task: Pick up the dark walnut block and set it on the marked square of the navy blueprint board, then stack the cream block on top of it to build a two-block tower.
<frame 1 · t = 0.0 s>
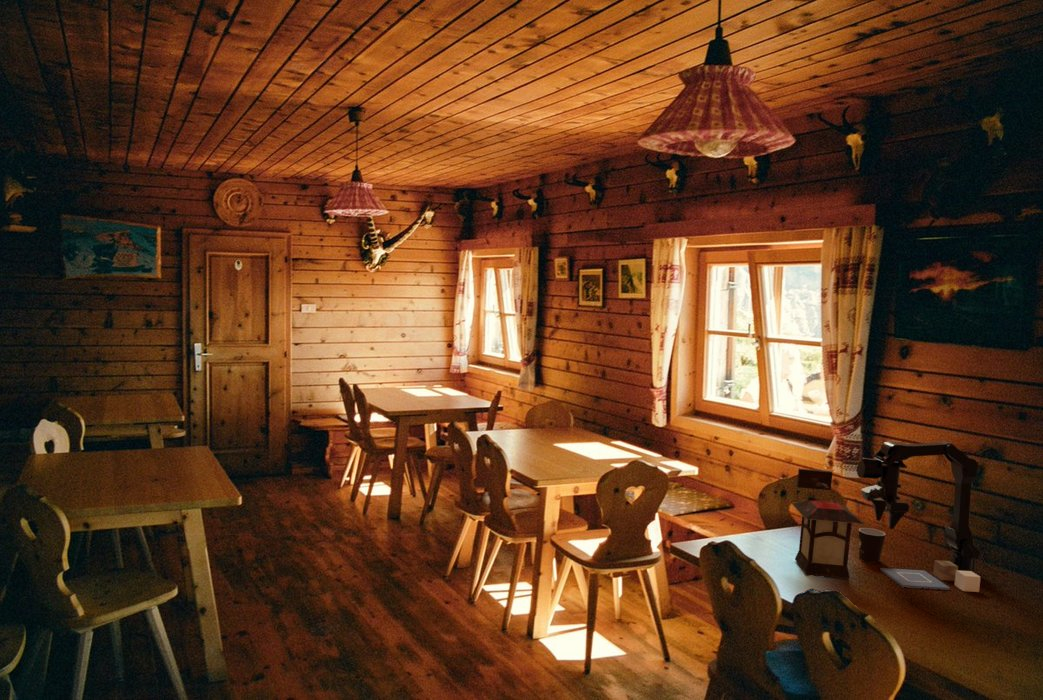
hand: (884, 524, 265), 15 cm above the table, tool pointing down, fingers open, 9 cm apart
walnut block: (944, 577, 260), on the table
blueprint board: (913, 579, 255), on the table
lantern: (817, 566, 263), on the table
coffee mug: (870, 559, 274), on the table
cream block: (966, 588, 251), on the table
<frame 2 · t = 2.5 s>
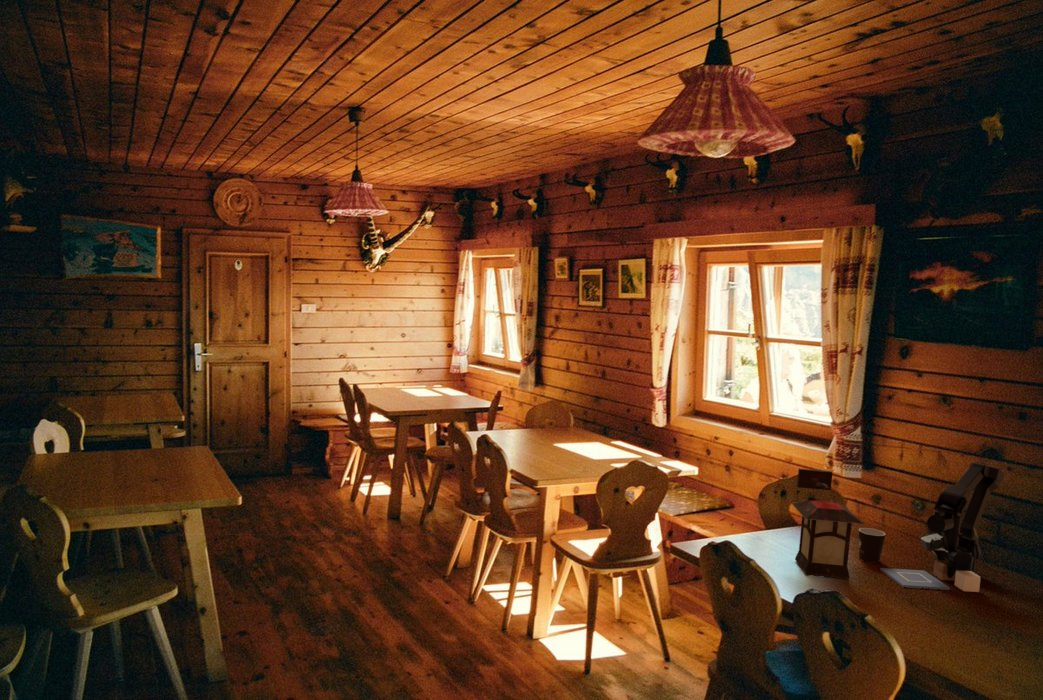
hand: (945, 574, 260), 1 cm above the table, tool pointing down, fingers closed on walnut block, 5 cm apart
walnut block: (944, 577, 260), on the table, touching gripper
everything else where it was.
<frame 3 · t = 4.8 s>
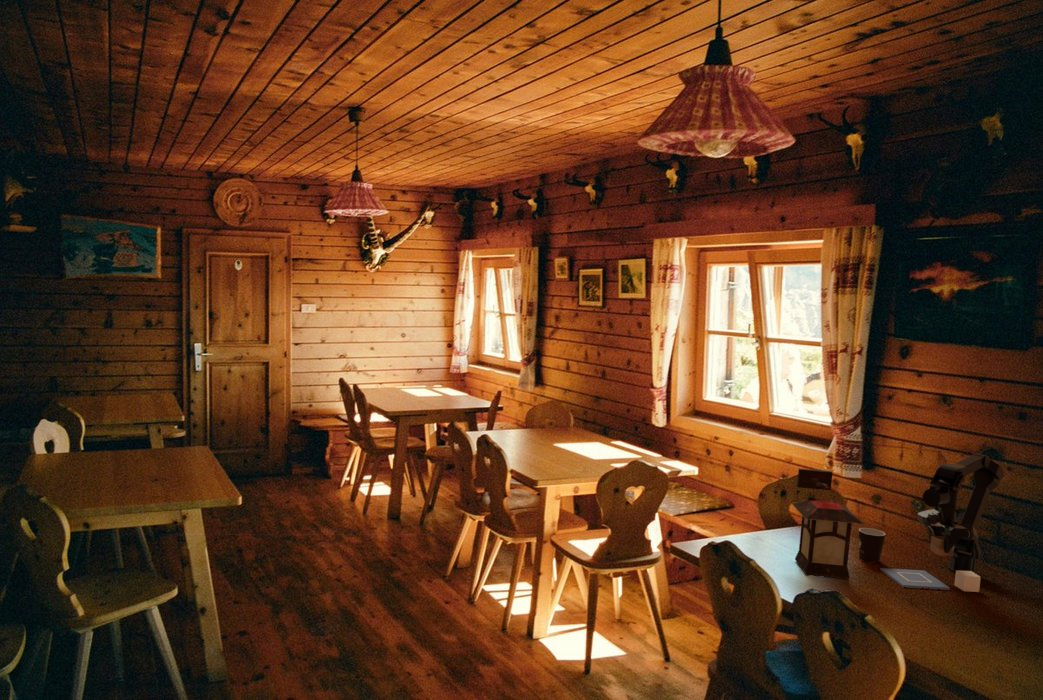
hand: (941, 550, 258), 9 cm above the table, tool pointing down, fingers closed on walnut block, 5 cm apart
walnut block: (941, 553, 258), point 8 cm above the table, touching gripper
everything else where it was.
when the fingers open (3 cm above the table, at t = 6.9 s): walnut block drops 1 cm, resting on blueprint board.
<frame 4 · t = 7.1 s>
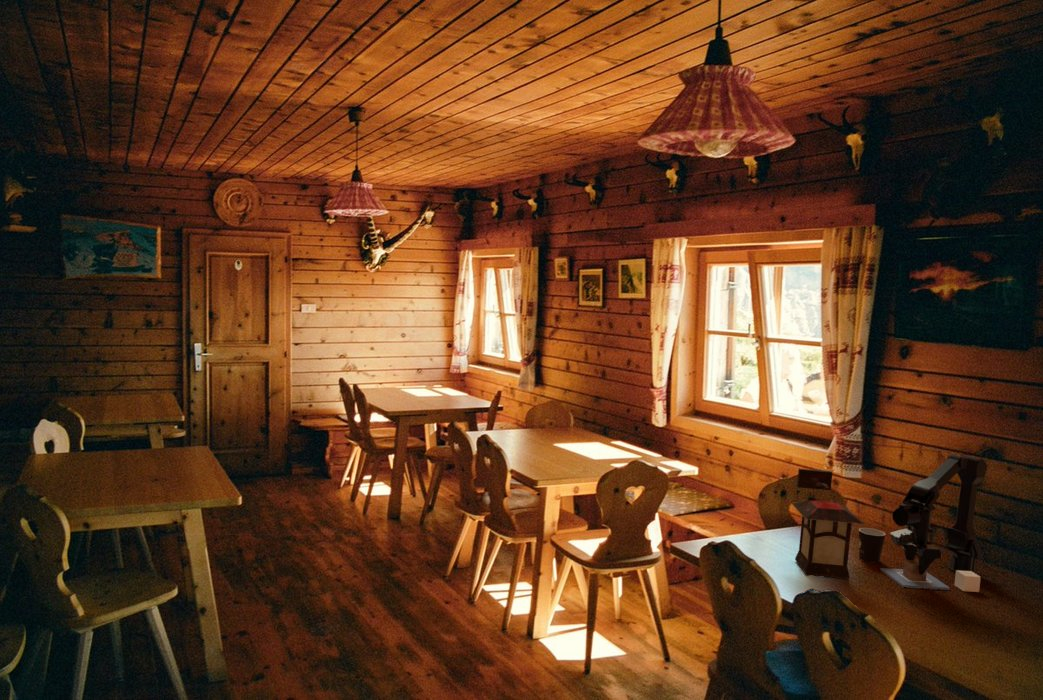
hand: (915, 570, 255), 3 cm above the table, tool pointing down, fingers open, 7 cm apart
walnut block: (914, 577, 255), point 1 cm above the table, touching blueprint board
everything else where it was.
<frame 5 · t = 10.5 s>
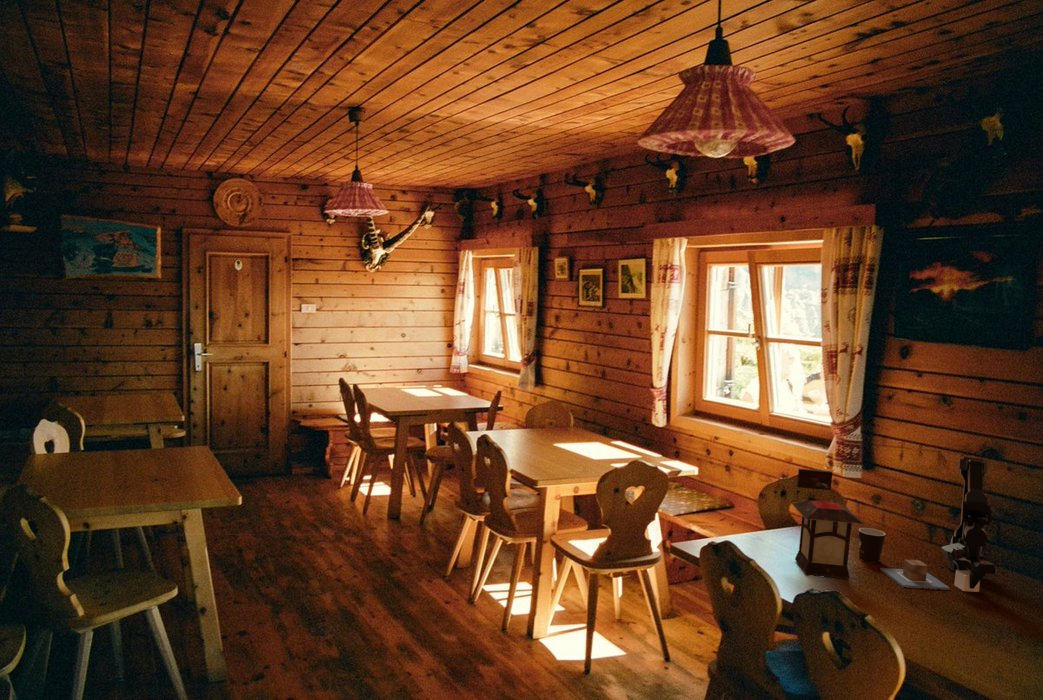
hand: (966, 585, 251), 1 cm above the table, tool pointing down, fingers closed on cream block, 5 cm apart
cream block: (966, 588, 251), on the table, touching gripper
everything else where it was.
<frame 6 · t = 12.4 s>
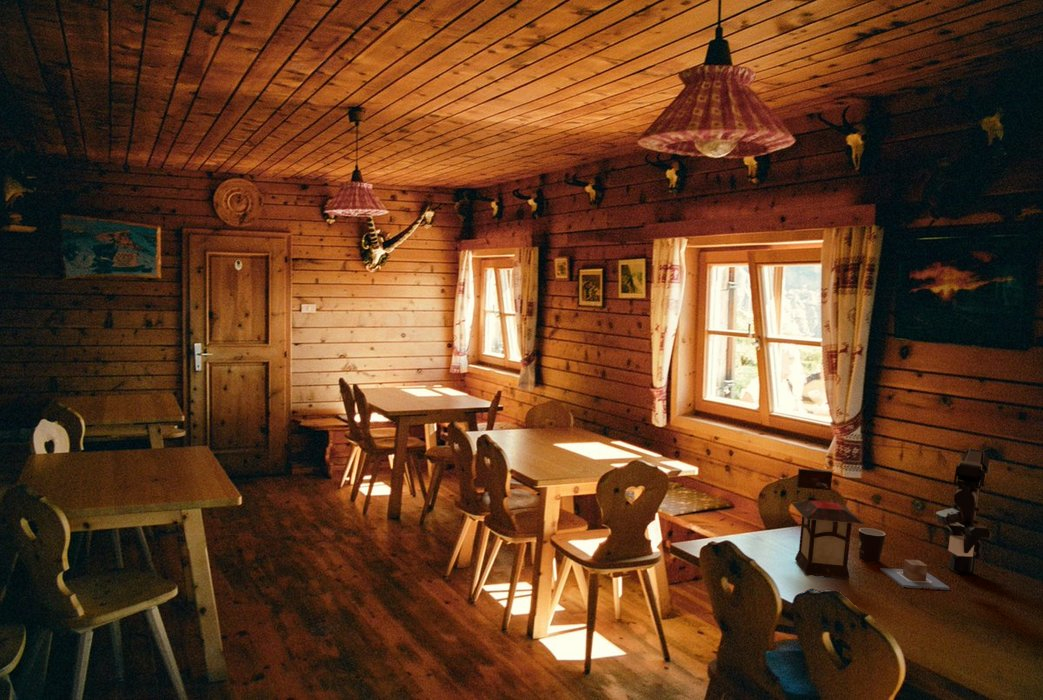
hand: (960, 550, 251), 12 cm above the table, tool pointing down, fingers closed on cream block, 5 cm apart
cream block: (960, 553, 251), point 11 cm above the table, touching gripper
everything else where it was.
when the fingers open (8 cm above the table, at t = 14.4 s): cream block drops 1 cm, resting on walnut block.
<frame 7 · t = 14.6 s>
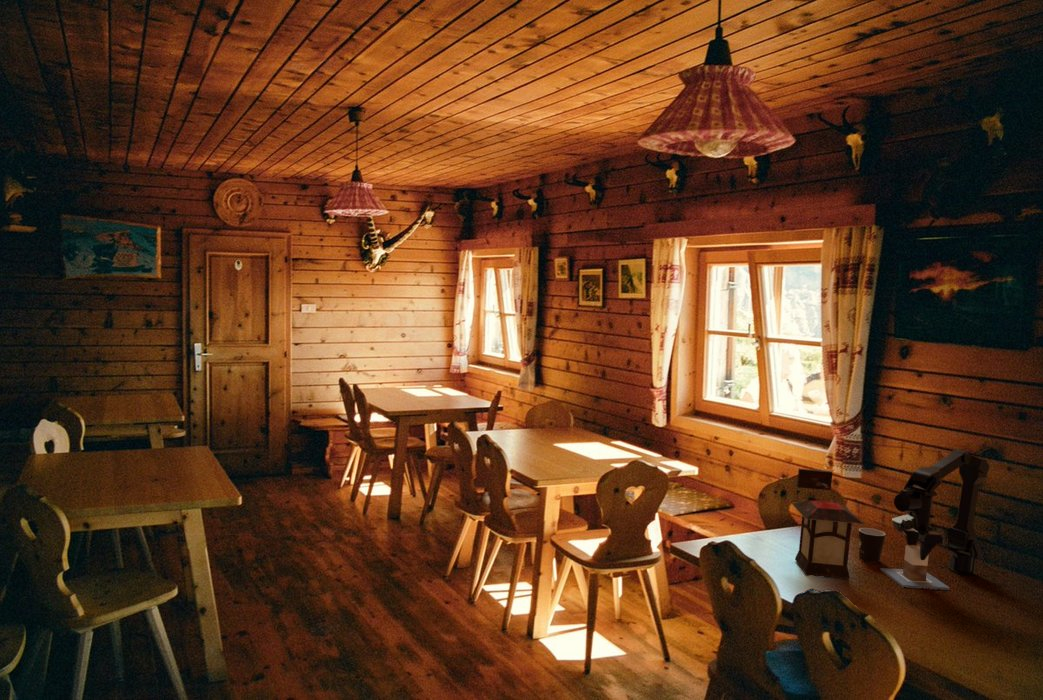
hand: (916, 556, 255), 8 cm above the table, tool pointing down, fingers open, 7 cm apart
walnut block: (914, 577, 255), point 1 cm above the table, touching blueprint board, cream block
cream block: (915, 562, 255), point 6 cm above the table, touching walnut block
everything else where it was.
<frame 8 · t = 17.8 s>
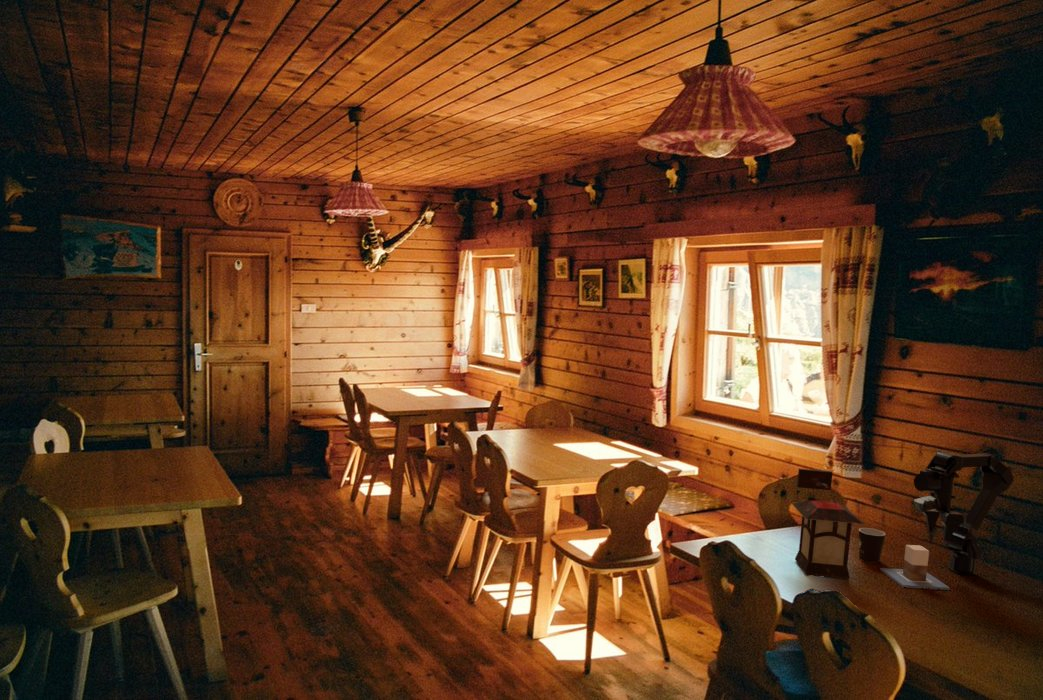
hand: (937, 536, 262), 13 cm above the table, tool pointing down, fingers open, 9 cm apart
nothing on the table moved.
at the end: walnut block 0.0 cm off-centre on the blueprint board, point 0.8 cm above the blueprint board's base; cream block 0.0 cm off-centre on the walnut block, point 5.0 cm above the walnut block's base; cream block tilted 0° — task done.
